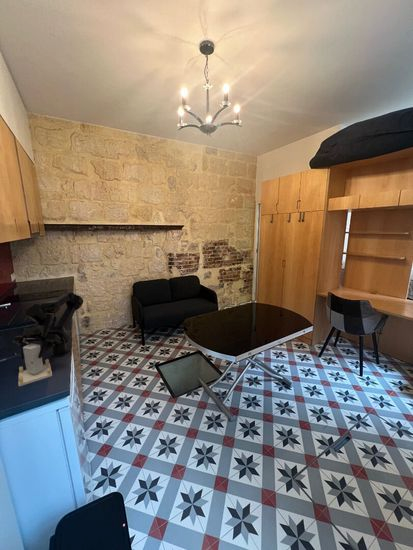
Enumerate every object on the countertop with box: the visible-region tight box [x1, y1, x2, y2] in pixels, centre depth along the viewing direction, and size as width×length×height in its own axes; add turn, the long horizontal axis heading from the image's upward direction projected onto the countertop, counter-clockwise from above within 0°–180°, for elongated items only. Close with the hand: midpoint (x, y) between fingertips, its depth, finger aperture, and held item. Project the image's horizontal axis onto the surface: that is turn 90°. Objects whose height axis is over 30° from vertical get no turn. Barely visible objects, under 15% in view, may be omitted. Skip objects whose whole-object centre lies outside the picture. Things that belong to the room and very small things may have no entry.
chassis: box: [17, 358, 53, 387], centre depth 107 cm, size 12×12×4 cm
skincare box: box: [23, 342, 44, 374], centre depth 106 cm, size 6×4×12 cm
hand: (30, 358), depth 105 cm, fingers closed on skincare box, 7 cm apart
